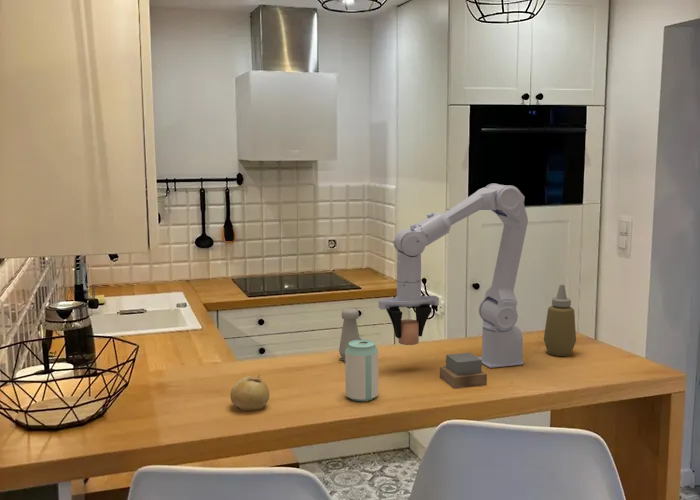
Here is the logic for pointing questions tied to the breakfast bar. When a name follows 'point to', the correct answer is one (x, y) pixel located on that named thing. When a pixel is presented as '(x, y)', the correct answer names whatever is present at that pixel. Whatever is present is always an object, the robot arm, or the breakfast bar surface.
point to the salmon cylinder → (409, 332)
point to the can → (361, 370)
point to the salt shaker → (348, 329)
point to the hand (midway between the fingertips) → (408, 336)
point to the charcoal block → (463, 363)
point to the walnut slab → (462, 378)
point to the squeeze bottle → (560, 325)
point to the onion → (250, 393)
